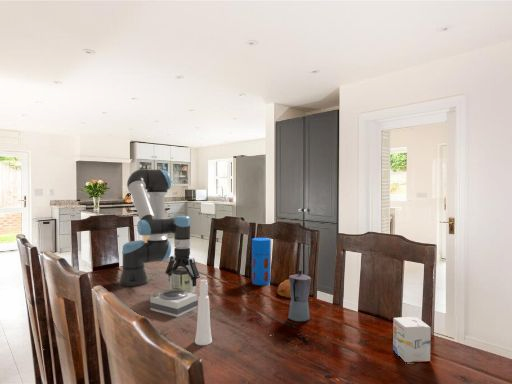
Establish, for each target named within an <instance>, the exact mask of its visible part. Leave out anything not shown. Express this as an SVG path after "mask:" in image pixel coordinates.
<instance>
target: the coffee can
mask: <svg viewBox="0 0 512 384" xmlns="http://www.w3.org/2000/svg"><path fill="white" fill-rule="evenodd" d="M191 279H192V278H191V277H190V275H189V273H188V272H187V270H186V268H184V267H178V268H177V269H172V289H173V290H184V291H187V292H188V293H190V280H191Z"/></svg>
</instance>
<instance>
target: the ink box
mask: <svg viewBox="0 0 512 384" xmlns="http://www.w3.org/2000/svg"><path fill="white" fill-rule="evenodd" d="M392 324H393V326H392V330H393V332H392V334H393V336H392V337H393V338H392V340H393V341H392V349H393V350H394V351H395V353H396V354H397V355H398V356H400V357H401V358H402V359H403V360H404V361H405V362H412V361H430V362H431V339H432V338H431V336H432V334H431V333H432V331H431V330H432V327H431V326H429V325H428V324H427V323H426V322H424V321H423V320H421V319H420V318H418V316H414V317H412V316H407V317H406V316H405V317H404V316H402V317H401V316H400V317H393V323H392ZM393 350H392V351H393ZM395 353H394V354H395ZM396 354H395V355H396ZM397 355H396V356H397ZM398 356H397V357H398Z"/></svg>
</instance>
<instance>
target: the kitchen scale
mask: <svg viewBox="0 0 512 384" xmlns="http://www.w3.org/2000/svg"><path fill="white" fill-rule="evenodd" d="M149 300H150V303H149V308H150V311H153V312H157V313H160V314H164V315H168V316H172V317H176V318H179V317H181V316H183V315H185V314H187V313H189V312H190V311H191V312H192V311H193V310H196V309H198V294H197V293H196V294H195V293H188V292H187V291H184V290H173V289H168V290H165V291H162V292H159V293H153V294H152V295H151V296H150V299H149Z"/></svg>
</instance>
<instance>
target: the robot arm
mask: <svg viewBox="0 0 512 384" xmlns="http://www.w3.org/2000/svg"><path fill="white" fill-rule="evenodd" d="M126 185H127V190H128V192H129V193H130V195H131V196H132V200H133V202H134V205H135V206H134V207H135V209H136V212H137V215H138V219H139V220H138V222H137V225H136V227H137V233H138V235H139V236H149V237H148V238H147V239H146V242H145V241H144V240H142V239H141V240H140V239H139V240H133V241H132V240H131V241H129V242H125V243H124V244H123V245H122V252H121V253H122V271H121V273H120V278H119V279H118V280H119V281H118V284H119V286H122V287H135V286H143V285H145V284H147V283H148V276H147V272H146V270H145V264H147V263H157V262H160V263H161V262H164V261H165V262H166V261H168V260H169V262H168V265H167V267H166V269H165V272H164V273H165V274H166V275H167V276H168V282H169V283H168V284H169V285H168V286H169V289H168V290H170V289H172V269H177V268H179V267H180V268H182V267H184V268H186V270H187V272H188V273H189V275H190V277H191V278H192V279H191V280H190V293H193V294H195V293H196V286H197V279H200V278H201V276H200V273H199V271H198V267H197V264H196V262H195V260H196V258H193V257H192V258H190V256H191V248H190V247H191V218H190V216H189V215H176V216H175V217H170V218H166V206H165V205H166V199H165V198H166V197H165V196H166V195H167V194H168V191H169V190H170V189H171V186H172V179H171V176H170V174H169V172H168V171H167V170H165V169H145V168H142V169H137V170H134V172H132V173H131V174H130V176H129V177H128V179H127V183H126ZM148 195H149V196H148ZM166 234H168V235H169V234H174V251H173V252H174V255H171V254H172V244H171V241H170V240H168V237H167V236H166Z"/></svg>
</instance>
